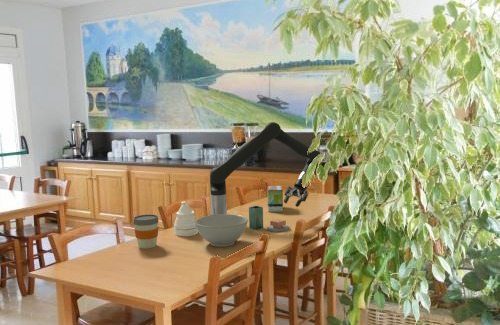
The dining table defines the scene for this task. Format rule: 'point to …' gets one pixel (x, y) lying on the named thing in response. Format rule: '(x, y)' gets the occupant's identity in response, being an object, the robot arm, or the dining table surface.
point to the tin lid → (278, 223)
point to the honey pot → (185, 221)
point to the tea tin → (256, 217)
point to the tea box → (275, 198)
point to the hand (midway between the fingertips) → (290, 204)
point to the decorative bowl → (221, 228)
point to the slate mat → (285, 228)
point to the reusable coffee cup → (146, 230)
